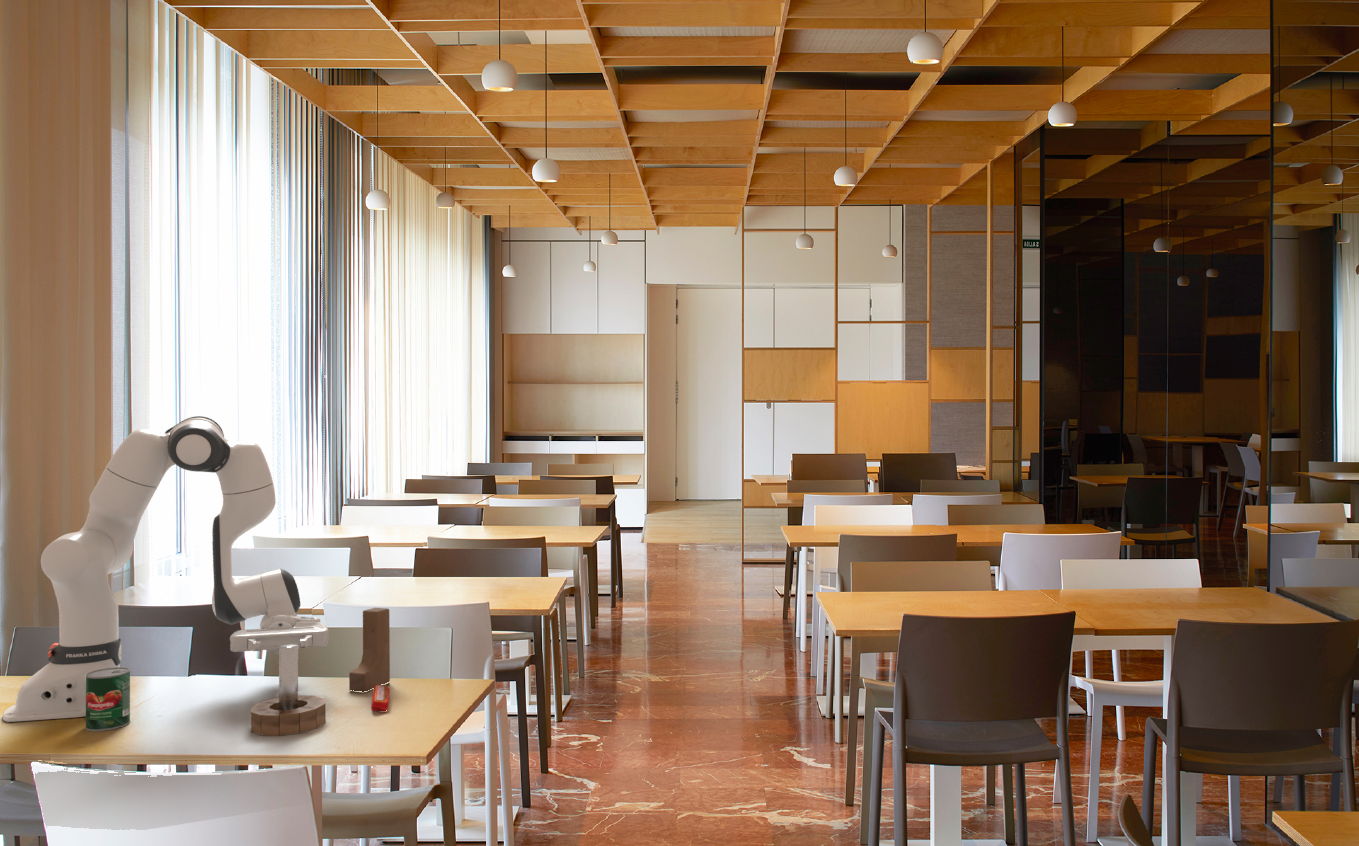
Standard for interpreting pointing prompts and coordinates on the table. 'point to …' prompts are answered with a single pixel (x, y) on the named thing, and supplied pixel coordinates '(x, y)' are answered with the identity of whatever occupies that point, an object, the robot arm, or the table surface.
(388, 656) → the wooden block
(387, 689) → the candy bar
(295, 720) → the walnut ring
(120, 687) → the canned tomato
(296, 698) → the steel peg
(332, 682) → the table surface
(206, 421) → the robot arm
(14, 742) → the table surface
